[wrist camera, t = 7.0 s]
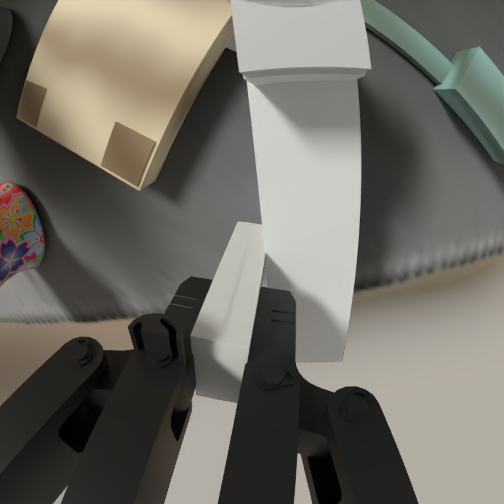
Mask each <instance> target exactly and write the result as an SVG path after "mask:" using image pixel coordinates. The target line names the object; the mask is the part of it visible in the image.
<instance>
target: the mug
mask: <svg viewBox="0 0 504 504" xmlns="http://www.w3.org/2000/svg"><path fill="white" fill-rule="evenodd" d="M44 250H45V242H44V234H43V230H42V226H41V222H40V219H39V216H38V214H37V212H36V209H35V207H34V205H33V204H32V202H31V200H30V199H29V197H28V196H27V194H26V193H25V192H24V191H23V190H22V189H21V188H20V187H19V186H18V185H16V184H14V183H11V182H4V183H1V184H0V287H1V286H2V285H3V284H4V283H5V282H6V281H7V280H8V279H9V278H11V277H12V276H13V275H15V274H17V273H19V272H21V271H23V270H26V269H33V268H35V267H37V266H39V264H40V263H41V261H42V259H43V256H44Z"/></svg>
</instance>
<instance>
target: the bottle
mask: <svg viewBox="0 0 504 504" xmlns="http://www.w3.org/2000/svg"><path fill="white" fill-rule="evenodd" d="M12 20H13V17H12V13H11V11H10V10H8V9H6V8H4V7H2V6H0V64H1V62H2V59H3V57H4V54H5V52H6V49H7V46H8V43H9V39H10V35H11V30H12Z"/></svg>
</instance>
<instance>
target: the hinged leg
mask: <svg viewBox="0 0 504 504" xmlns="http://www.w3.org/2000/svg"><path fill="white" fill-rule="evenodd" d="M227 1H229V2H230V3H231V10H232V18H233V26H234V34H235V42H236V50H237V58H238V67H239V73H241V74H243V77H244V79H245V80H246V81H247V87H248V96H249V104H250V113H251V122H252V131H253V140H254V149H255V159H256V168H257V178H258V187H259V197H260V207H261V217H262V227H263V238H264V248H265V252H266V253H265V259H266V269H267V280H268V288H273V289H280V290H287V291H290V292H291V294H292V295H293V297H294V299H295V301H296V357H295V361H296V362H336V361H342V359H343V354H344V349H345V343H346V338H347V331H348V325H349V319H350V312H351V305H352V298H353V290H354V282H355V273H356V263H357V252H358V239H359V224H360V203H361V130H360V110H359V95H358V84H357V79H359V78H361V77H364V76H366V71H368V70H370V69H371V63H370V55H369V47H368V40H367V34H366V28H365V22H364V17H363V12H362V7H361V2H360V0H227Z"/></svg>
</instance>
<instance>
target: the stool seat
mask: <svg viewBox="0 0 504 504" xmlns="http://www.w3.org/2000/svg"><path fill="white" fill-rule="evenodd" d="M360 2H361V7H362V12H363V17H364V22H365V27H366V28H368V29H369V30H371V31H372V32H374V33H375V34H377V35H378V36H379V37H381V38H382V39H384V40H385V41H386V42H388V43H389V44H390V45H391V46H393V47H394V48H395V49H397V50H398V51H399V52H400V53H402V54H403V55H404V56H405V57H407V58H408V59H409V60H410V61H411V62H412V63H414V64H415V65H416V66H417V67H418V68H419V69H420V70H422V71H423V72H424V73H425V74H426V75H427V76H428V77H429V78H430V79H431V80H432V81H433V82H434V83H435V84H436V86H435V88H434V89H433V90H434V91H435V92H436V93H437V94H438V95H439V96H440V97H441V98H442V99H443V100H444V101H445V102H446V103H447V104H448V105H449V106H450V107H451V108H452V109H453V110H454V111H455V112H456V114H457V115H458V116H459V117H460V118H461V119H462V120H463V122H464V123H465V124H466V125H467V126H468V127H469V129H470V130H471V131H472V132H473V134H474V135H475V136H476V137H477V139H478V140H479V141H480V143H481V144H482V145H483V146H484V148H485V149H486V151H487V152H488V153H489V155H490V156H491V157H492V159H493V160H494V161H496V162H498V163H500V164H502V165H504V76H503V75H502V74H501V72H500V71H499V70H498V68H497V67H496V66H495V65H494V63H493V62H492V61H491V60H490V58H489V57H488V56H487V55H486V54H485V52H484V51H483V50H482V49H481V48H480V47H477V48H472V49H467V50H462V51H457V53H456V54H455V56H454V58H453V59H452V61H451V63H450V62H449V61H448V60H447V59H446V58H445V57H444V56H443V55H442V54H441V53H440V52H439V51H438V50H437V49H436V48H435V47H434V46H433V45H432V44H431V43H429V42H428V41H427V40H426V39H425V38H424V37H423V36H421V35H420V34H419V33H418V32H417V31H415V30H414V29H413V28H412V27H410V26H409V25H408V24H407V23H405V22H404V21H403V20H401V19H400V18H399V17H397V16H396V15H395V14H393V13H392V12H390V11H389V10H388V9H386V8H385V7H383V6H382V5H380V4H379V3H377V2H376V1H374V0H360ZM225 48H228V49H231V50H233V51H235V52H237V50H236V42H235V34H234V26H233V18H232V10H231V3H230V2H229V1H227V0H59V1H58V2H57V4H56V6H55V8H54V10H53V12H52V14H51V16H50V18H49V20H48V23H47V25H46V27H45V29H44V31H43V34H42V36H41V39H40V41H39V43H38V46H37V49H36V51H35V54H34V57H33V59H32V62H31V65H30V68H29V71H28V74H27V78H26V81H25V84H24V88H23V92H22V95H21V99H20V103H19V107H18V112H17V116H16V118H17V119H19V120H21V121H22V122H24V123H26V124H27V125H29V126H31V127H32V128H34V129H36V130H37V131H39V132H41V133H42V134H44V135H46V136H48V137H49V138H51V139H53V140H54V141H56V142H58V143H59V144H61V145H63V146H64V147H66V148H68V149H69V150H71V151H73V152H74V153H76V154H78V155H79V156H81V157H83V158H85V159H86V160H88V161H90V162H91V163H93V164H95V165H96V166H98V167H100V168H101V169H103V170H105V171H106V172H108V173H110V174H112V175H113V176H115V177H117V178H118V179H120V180H122V181H123V182H125V183H127V184H128V185H130V186H132V187H134V188H135V189H137V190H139V191H140V190H142V189H143V188H145V187H147V186H148V185H150V184H151V183H153V182H155V181H156V179H157V177H158V175H159V172H160V170H161V168H162V166H163V163H164V161H165V159H166V157H167V154H168V152H169V150H170V148H171V146H172V144H173V142H174V139H175V137H176V135H177V133H178V131H179V129H180V127H181V125H182V123H183V121H184V119H185V117H186V115H187V113H188V112H189V110H190V108H191V106H192V104H193V102H194V100H195V98H196V97H197V95H198V93H199V91H200V89H201V88H202V86H203V84H204V82H205V81H206V79H207V77H208V75H209V74H210V72H211V70H212V69H213V67H214V65H215V64H216V62H217V61H218V59H219V57H220V56H221V54H222V53H223V51H224V49H225Z"/></svg>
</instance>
